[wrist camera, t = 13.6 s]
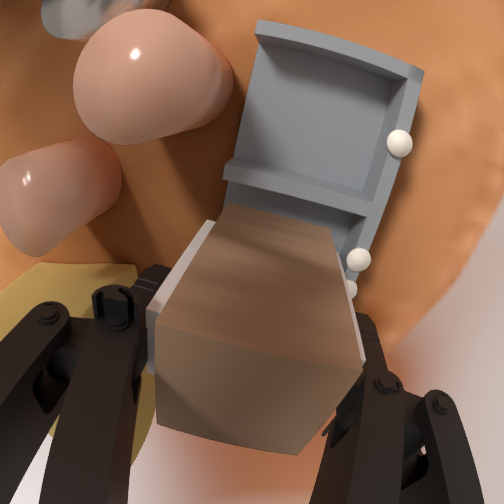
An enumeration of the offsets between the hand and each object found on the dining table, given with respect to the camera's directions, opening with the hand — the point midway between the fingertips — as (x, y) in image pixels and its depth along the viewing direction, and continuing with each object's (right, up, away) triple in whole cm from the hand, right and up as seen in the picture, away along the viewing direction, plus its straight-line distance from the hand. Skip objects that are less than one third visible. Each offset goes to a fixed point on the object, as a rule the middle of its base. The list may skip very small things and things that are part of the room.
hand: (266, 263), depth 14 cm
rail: (+1, +1, +3) cm, 3 cm away
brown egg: (-11, +5, +3) cm, 12 cm away
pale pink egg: (-4, +9, 0) cm, 10 cm away
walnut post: (0, 0, 0) cm, 0 cm away
